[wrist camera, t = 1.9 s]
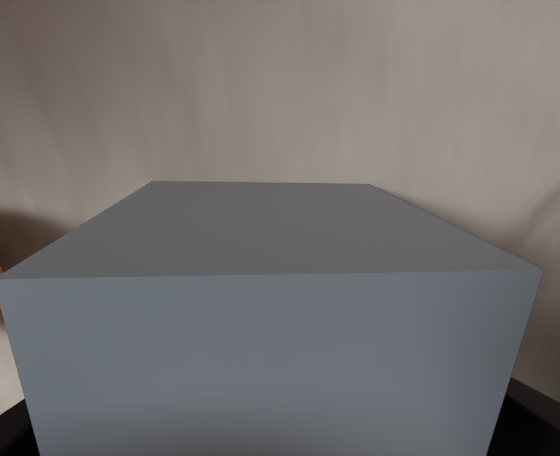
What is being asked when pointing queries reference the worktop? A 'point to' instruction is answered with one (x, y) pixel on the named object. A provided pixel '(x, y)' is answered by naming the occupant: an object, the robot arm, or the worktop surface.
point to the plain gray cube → (266, 326)
